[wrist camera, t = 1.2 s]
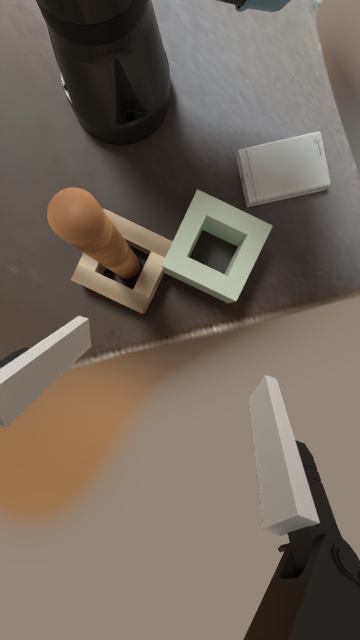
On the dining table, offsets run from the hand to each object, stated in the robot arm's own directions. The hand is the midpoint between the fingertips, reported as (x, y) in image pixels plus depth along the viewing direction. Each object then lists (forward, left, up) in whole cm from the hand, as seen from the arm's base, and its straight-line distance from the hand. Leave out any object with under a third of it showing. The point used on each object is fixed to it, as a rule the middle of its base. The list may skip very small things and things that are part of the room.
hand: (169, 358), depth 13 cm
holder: (-7, -11, -15) cm, 20 cm away
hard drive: (-30, +4, -15) cm, 34 cm away
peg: (-7, -11, -15) cm, 20 cm away
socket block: (-14, 0, -15) cm, 20 cm away
